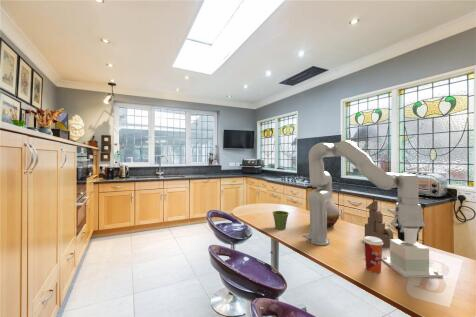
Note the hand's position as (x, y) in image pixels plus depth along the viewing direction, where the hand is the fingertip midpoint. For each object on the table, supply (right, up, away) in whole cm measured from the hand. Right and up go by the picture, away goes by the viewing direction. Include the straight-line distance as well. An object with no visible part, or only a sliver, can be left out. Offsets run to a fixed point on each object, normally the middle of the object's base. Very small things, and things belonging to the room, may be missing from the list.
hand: (408, 239), depth 98 cm
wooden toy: (+5, -13, +30) cm, 33 cm away
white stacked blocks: (0, -13, 0) cm, 13 cm away
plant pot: (-48, -13, +56) cm, 75 cm away
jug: (-13, -13, +61) cm, 63 cm away
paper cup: (-17, -13, -1) cm, 21 cm away
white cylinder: (0, -1, 0) cm, 1 cm away
